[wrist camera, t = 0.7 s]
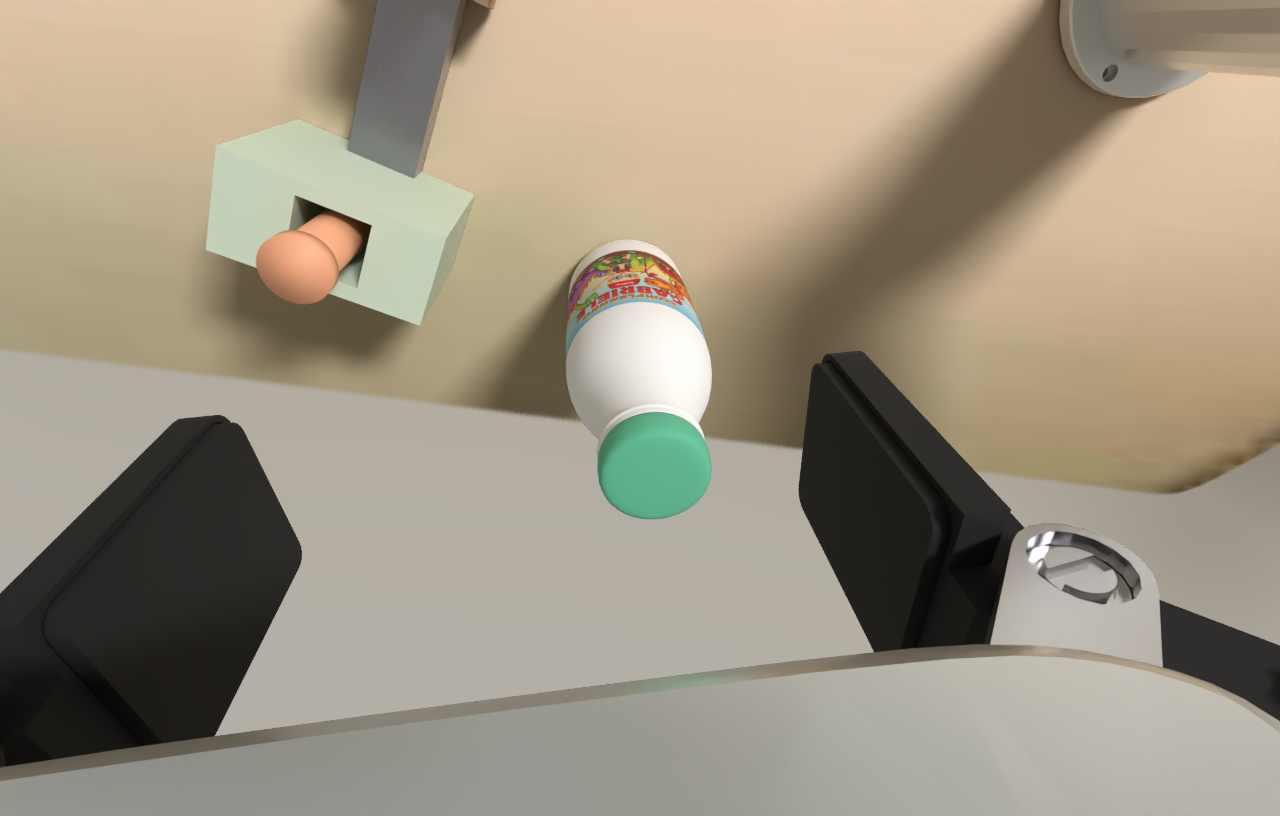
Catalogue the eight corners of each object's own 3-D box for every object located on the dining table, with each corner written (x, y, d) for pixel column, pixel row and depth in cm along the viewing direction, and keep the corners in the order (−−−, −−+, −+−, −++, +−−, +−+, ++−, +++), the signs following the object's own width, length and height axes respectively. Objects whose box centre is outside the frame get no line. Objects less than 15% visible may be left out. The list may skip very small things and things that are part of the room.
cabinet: (291, 115, 33) (205, 141, 26) (474, 194, 36) (446, 237, 29) (278, 200, 36) (196, 246, 28) (452, 267, 39) (420, 325, 31)
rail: (431, -204, 27) (410, -237, 24) (508, -157, 28) (498, -182, 25) (358, 144, 34) (334, 157, 31) (421, 171, 35) (404, 186, 32)
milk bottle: (698, 318, 42) (775, 512, 25) (598, 360, 43) (608, 572, 26) (657, 216, 38) (716, 366, 21) (548, 265, 39) (521, 444, 22)
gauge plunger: (322, 186, 30) (261, 223, 24) (384, 211, 31) (338, 252, 25) (312, 241, 31) (251, 288, 25) (371, 263, 32) (325, 314, 26)
